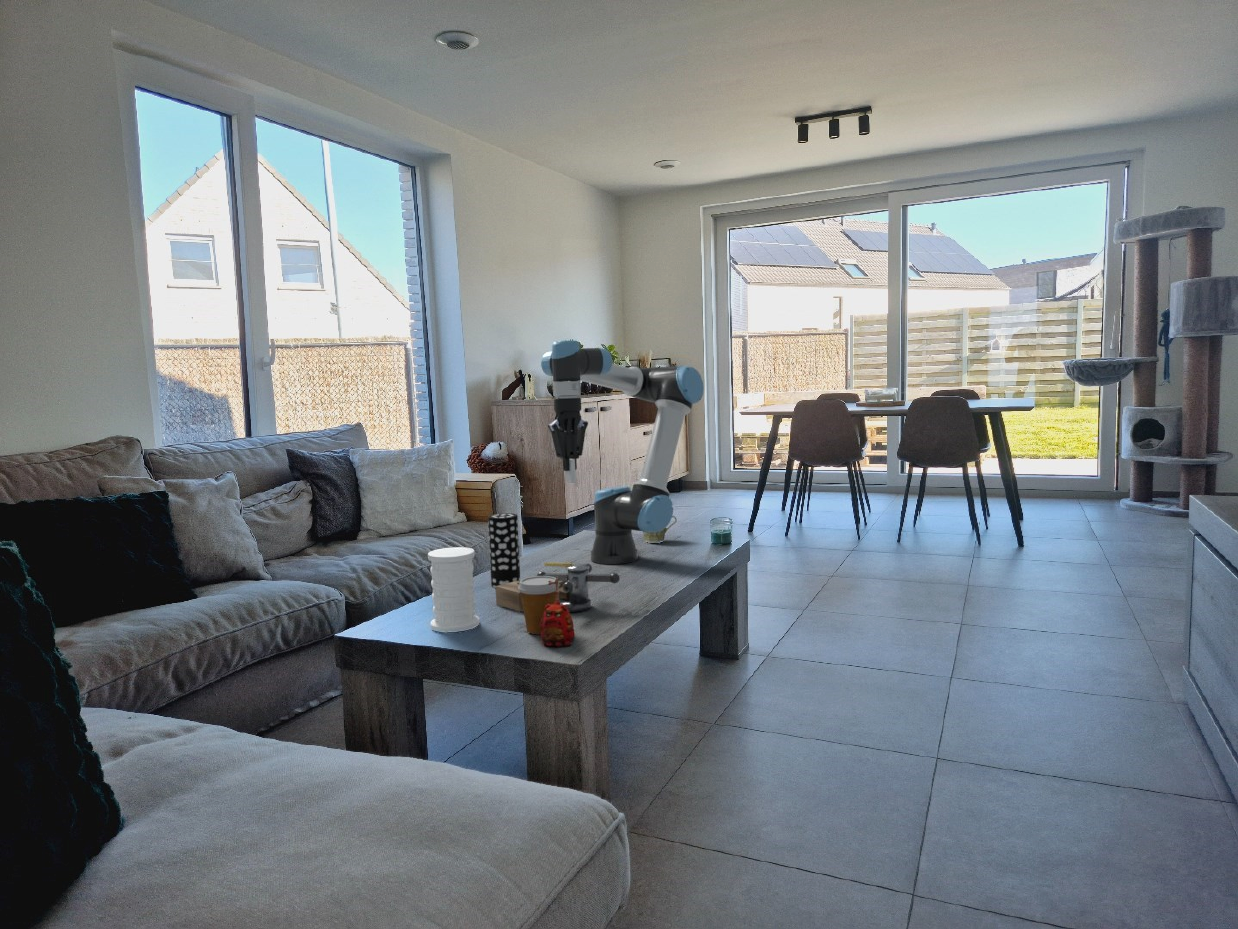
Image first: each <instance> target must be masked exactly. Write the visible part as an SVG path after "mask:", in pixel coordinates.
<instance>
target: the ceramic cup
mask: <svg viewBox="0 0 1238 929" xmlns="http://www.w3.org/2000/svg"><path fill="white" fill-rule="evenodd" d="M672 518H674V519H675V521H674V522H673V523H672V524H671V525H668V527H666V528H665V529H663V530H662V531H660V532H656V533H653V532H649V533H645V532H643V531H642V534H643V539H644V543H645V542H649V543H652V542H660V541H663V540H664V541H665V535H666V533H667V531H668V530H669V529H670V528H671V527H673V525H675V524H676V523H677V516H675V515H672Z"/></svg>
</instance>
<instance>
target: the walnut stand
mask: <svg viewBox="0 0 1238 929" xmlns="http://www.w3.org/2000/svg"><path fill="white" fill-rule="evenodd" d="M520 580H521V579H520ZM520 580H519V581H515V582H511V583H506V584H502V585H498V586H496V588H495V603H496V606H498V605H499V607H502V608H505V607H507V608H506V609H508V608H510V609H509V610H511V609H514V610H516V611H515V612H518V611H519V613H521V612H520V611H522V612H524V611H523V605H522V598H521V593H520V591H519V589H518V586H519V584H520ZM565 582H567V581H558V583H559V587H558V591H559V595H558V597H559V599H562V598H565V599H568V598H569V593H567V592H565V591H564V590H563V584H564V583H565ZM514 610H513V611H514Z"/></svg>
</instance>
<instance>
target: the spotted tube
mask: <svg viewBox="0 0 1238 929" xmlns="http://www.w3.org/2000/svg"><path fill="white" fill-rule="evenodd" d="M518 521H519V520H518V514H516V513H507V512H505V513H504V512H503V513H494V514H489V515H488V516H487V525H488V526H487V527H488V544H489V546H488V547H489V564H490V565H489V566H490V567H489V568H490V585H491V586H490V587H492V588H494V589H496V586H498V585H502V584H506V583H511V582H515V581H519V580H521V568H520V567H521V566H520V564H521V563H520V544H519V539H520V538H519V522H518Z"/></svg>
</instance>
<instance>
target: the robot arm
mask: <svg viewBox="0 0 1238 929" xmlns="http://www.w3.org/2000/svg"><path fill="white" fill-rule="evenodd" d="M540 367H541V370H542V371H543V374H545V375H547V377H552V381H553V382H552V392H553V397H555V398H554V399H553V411H554V412H555V417H554V421H553V422H551V423H548V424H547V428H548V429H549V431H550V433H551V437H552V442H553V446H554V451H555V455H556V458H559V459H561V460H562V469H563V472H564V481H565V482H564V483H569V484H575V483H576V482H577V481H576V479H577V478H576V470H577V468H578V465H577V464H578V463H577V460H579V458H580V457H581V456H582V455H583V450H584V445H585V437H586V432H587V431H586V429H587V428H588V425H589V421H587V420H583V419H582V415H581V411H582V399H581V397H580V396H581V393H582V388H581V386H582V385H581V382H584V383H588V384H593V385H596V386H600V387H604V388H607V389H613V390H616V391H620V392H622V393H623V394H624V395H626V396H627V397H633V398H634V399H635V398H636V399H639V400H642V401H646V402H650V403H654V404H655V406H656V408H657V413H656V415H655V420H654V424H653V428H652V430H651V431H652V432H651V436H650V439H649V443H648V447H647V450H646V454H645V458H644V462H643V465H642V469H641V473H640V476H639V477H640V478H639V480H638V481H636V482H634V483H632V484H633V485H632V488H631V487H630V486H627V485H626V486H617V487H616V486H615V487H608V488H602V489H598V490H597V491H595V493H594V496H593V497H594V498H593V499H594V500H593V509H594V530H595V533H594V534H595V535H594V536H595V538H594V541H593V545H592V550H591V551H590V561H591V562H594V563H597V564H603V565H618V564H619V565H621V564H628V563H633V562H636V560H637V561H638V559H639V556H638V554H639V552H638V549H637V548H636V544H635V541H634V538H633V532H632V531H636V532H637V531H639V532H642V533H643V532H645V533H649V532H653V533H656V532H660V531H662V530H663V529H665V528H668V527H669V524H670V522H671V520H672V518H673V517H672V516H674V515H673V514H674V507H673V505H674V504H673V501H672V499H671V498H670V491H669V490H668V488H667V485H668V483H669V482H668V481H669V478H670V474H671V470H672V467H673V463H674V459H675V454H676V450H677V447H678V442H679V439H680V436H681V435H680V434H681V431H682V427H683V424H684V419H685V416H687V415H688V414H691V411H692V408H693V404H694V405H695V404H697V403H699V402H700V401H701V399H702V398H703V395H704V390H705V389H704V387H705V386H704V381H703V379H702V376H701V374H700V372H699V371H698V370H697V369H696V368H695V367H693V366H689V365H688V366H687V365H686V366H685V365H678V366H664V367H663V366H657V367H654V366H653V367H638V366H630V367H626V366H622V365H619V364H615V363H613V357H612V355H611V353H610V351H609V350H608V349H606V348H600V347H590V348H589V347H587V348H586V347H581V346H580V342H579V341H578V340H572V339H571V340H566V339H565V340H556V341H554V342H552V346H551V350H550V351H547V352H545V353H544V354H543V356H542V357H541V361H540Z"/></svg>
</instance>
